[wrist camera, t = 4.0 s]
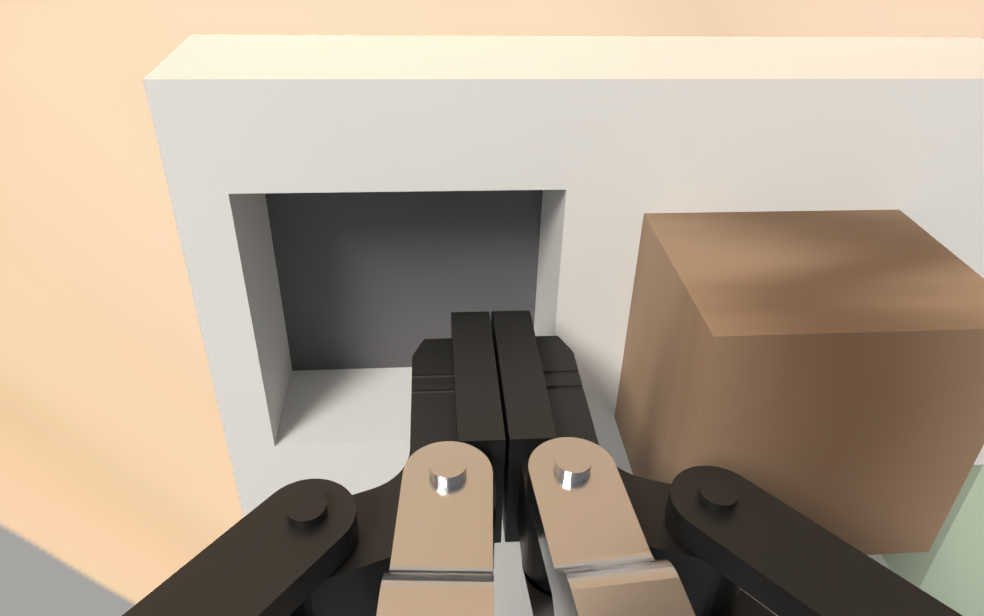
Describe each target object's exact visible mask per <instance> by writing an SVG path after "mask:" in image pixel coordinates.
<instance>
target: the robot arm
mask: <svg viewBox="0 0 984 616" xmlns="http://www.w3.org/2000/svg"><path fill="white" fill-rule="evenodd" d="M582 386H583V385H582V382H581V378H580V374H578V367H577V363H576V360H575V356H574V353H573V351H572V350H571V349H570V348H569V347H568V346H567V345H566V344H565V343H564V342H563V341H562V339H561V338H560V337H559V336H535V331H534V327H533V322H532V317H531V313H530V311H529V310H522V311H492V312H491V322H490V315H489V311H482V312H451V338H444V339H424V340H423V341H422V342H421V344H420V345H419V347H418V348H417V350H416V351H415V353H414V354H413V356H412V387H411V428H410V453H409V458H408V460H407V462H406V464H405V466H404V468H403V469H402V470H401V471H400V472H399V473H398V474H397V475H396V476H395V477H394V478H393V479H391V480H390V481H388V482H387V483H385V484H383V485H381V486H378V487H376V488H373V489H370V490H367V491H363V492H360V493H357V494H353V495H352V494H351V493H350V492H349V491H348V490H347V489H346V488H345V487H343V486H342V485H341V484H338V483H336V482H334V481H330V480H326V479H305V480H300V481H296V482H293V483H291V484H288V485H286V486H284V487H282V488H280V489H279V490H278V491H276V492H275V493H273V494H272V495H271V496H270V497H268V498H267V499H266V500H265V501H263V502H262V503H261V504H260V505H259V506H257V507H256V508H255V509H254V510H252V511H251V512H250V513H249V514H247V515H246V516H245V517H244V518H242V519H241V520H240V521H239V522H238V523H236V524H235V525H234V526H233V527H231V528H230V529H229V530H228V531H226V532H225V533H224V534H223V535H221V536H220V537H219V538H218V539H216V540H215V541H214V542H213V543H212V544H210V545H209V546H208V547H207V548H205V549H204V550H203V551H202V552H200V553H199V554H198V555H197V556H195V557H194V558H193V559H192V560H191V561H189V562H188V563H187V564H186V565H184V566H183V567H182V568H181V569H179V570H178V571H177V572H176V573H174V574H173V575H172V576H171V577H169V578H168V579H167V580H166V581H165V582H163V583H162V584H161V585H160V586H158V587H157V588H156V589H155V590H153V591H152V592H151V593H150V594H148V595H147V596H146V597H145V598H143V599H142V600H141V601H140V602H139V603H137V604H136V605H135V606H134V607H132V608H131V609H130V610H129V611H127V612H126V613H125V614H124V615H122V616H494V574H493V570H494V545H495V543H501V532H502V520H503V529H504V538H505V542H520V549H521V557H522V564H521V578H520V581H521V588H522V593H523V597H524V602H525V607H526V611H527V616H776V615H778V616H962V615H961V614H959V613H958V612H956V611H955V610H953V609H951V608H950V607H948V606H947V605H945V604H943V603H942V602H940V601H939V600H937V599H936V598H934V597H932V596H931V595H929V594H928V593H926V592H924V591H923V590H921V589H920V588H918V587H917V586H915V585H913V584H912V583H910V582H909V581H907V580H905V579H904V578H902V577H901V576H899V575H897V574H896V573H894V572H893V571H891V570H890V569H888V568H886V567H885V566H883V565H882V564H880V563H878V562H877V561H875V560H874V559H872V558H871V557H869V556H867V555H866V554H864V553H863V552H861V551H859V550H858V549H856V548H855V547H853V546H852V545H850V544H848V543H847V542H845V541H844V540H842V539H840V538H839V537H837V536H836V535H834V534H833V533H831V532H829V531H828V530H826V529H825V528H823V527H821V526H820V525H818V524H817V523H815V522H814V521H812V520H810V519H809V518H807V517H806V516H804V515H802V514H801V513H799V512H798V511H796V510H795V509H793V508H791V507H790V506H788V505H787V504H785V503H783V502H782V501H780V500H779V499H777V498H776V497H774V496H772V495H771V494H769V493H768V492H766V491H764V490H763V489H761V488H760V487H758V486H756V485H755V484H753V483H752V482H750V481H749V480H747V479H745V478H744V477H742V476H740V475H739V474H737V473H735V472H732V471H730V470H728V469H724V468H721V467H716V466H695V467H690V468H688V469H685V470H683V471H682V472H680V473H679V474H678V475H677V476H676V477H675V478H674V480H673V481H672V484H669V483H664V482H659V481H655V480H650V479H645V478H641V477H638V476H635V475H632V474H630V473H627V472H626V471H624V470H622V469H620V468H619V467H617V466H616V464H615V462H614V460H613V458H612V457H611V456H610V454H609V453H608V452H607V451H606V450H604V449H603V448H602V447H600V446H599V443H598V439H597V436H596V432H595V428H594V425H593V421H592V418H591V414H590V410H589V407H588V403H587V400H586V396H585V392H584V389H583V387H582ZM741 589H742V590H744V591H745V592H746V593H745V592H744V591H742V590H741ZM747 593H748V594H749V595H751V596H752V597H753V598H755V599H756V600H757V601H759V602H760V603H761V604H763V605H764V606H765V607H764V606H763V605H761V604H760V603H759V602H757V601H756V600H755V599H753V598H752V597H751V596H749V595H748V594H747ZM766 607H767V608H768V609H770V610H771V611H772V612H774V613H775V614H776V615H775V614H774V613H772V612H771V611H770V610H768V609H767V608H766Z"/></svg>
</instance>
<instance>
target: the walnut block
mask: <svg viewBox="0 0 984 616" xmlns="http://www.w3.org/2000/svg"><path fill="white" fill-rule="evenodd" d="M614 417H615V420H616V423H617V426H618V430H619V433H620V436H621V439H622V442H623V445H624V448H625V451H626V454H627V457H628V461H629V464H630V467H631V470H632V473H633V475H635V476H638V477H641V478H645V479H650V480H655V481H659V482H664V483H669V484H672V481H673V480H674V478H675V477H676V476H677V475H678V474H679V473H680V472H682V471H683V470H685V469H688V468H690V467H695V466H716V467H721V468H724V469H728V470H730V471H732V472H735V473H737V474H739V475H740V476H742V477H744V478H745V479H747V480H749V481H750V482H752V483H753V484H755V485H756V486H758V487H760V488H761V489H763V490H764V491H766V492H768V493H769V494H771V495H772V496H774V497H776V498H777V499H779V500H780V501H782V502H783V503H785V504H787V505H788V506H790V507H791V508H793V509H795V510H796V511H798V512H799V513H801V514H802V515H804V516H806V517H807V518H809V519H810V520H812V521H814V522H815V523H817V524H818V525H820V526H821V527H823V528H825V529H826V530H828V531H829V532H831V533H833V534H834V535H836V536H837V537H839V538H840V539H842V540H844V541H845V542H847V543H848V544H850V545H852V546H853V547H855V548H856V549H858V550H859V551H861V552H863V553H864V554H866V555H877V554H896V553H915V552H929V551H930V549H931V547H932V545H933V543H934V541H935V539H936V537H937V535H938V533H939V531H940V529H941V527H942V525H943V523H944V521H945V519H946V517H947V515H948V513H949V511H950V509H951V507H952V506H953V504H954V502H955V500H956V498H957V496H958V494H959V492H960V490H961V488H962V486H963V484H964V482H965V480H966V478H967V476H968V474H969V472H970V470H971V468H972V466H973V464H974V462H975V460H976V459H977V457H978V455H979V453H980V451H981V449H982V447H983V445H984V278H983V277H981V276H980V275H979V274H978V273H976V272H975V271H974V270H973V269H972V268H970V267H969V266H968V265H967V264H965V263H964V262H963V261H962V260H961V259H959V258H958V257H957V256H956V255H954V254H953V253H952V252H951V251H950V250H948V249H947V248H946V247H945V246H943V245H942V244H941V243H940V242H939V241H937V240H936V239H935V238H934V237H932V236H931V235H930V234H929V233H927V232H926V231H925V230H924V229H923V228H921V227H920V226H919V225H918V224H916V223H915V222H914V221H913V220H912V219H910V218H909V217H908V216H907V215H905V214H904V213H903V212H902V211H901V210H835V211H768V212H701V213H644V216H643V223H642V230H641V237H640V244H639V251H638V258H637V264H636V271H635V278H634V285H633V292H632V299H631V306H630V313H629V320H628V326H627V333H626V340H625V347H624V354H623V361H622V368H621V375H620V382H619V388H618V395H617V402H616V409H615V416H614Z"/></svg>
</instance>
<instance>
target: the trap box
mask: <svg viewBox="0 0 984 616" xmlns="http://www.w3.org/2000/svg"><path fill="white" fill-rule="evenodd" d="M143 81H144V85H145V89H146V94H147V98H148V102H149V107H150V111H151V115H152V120H153V124H154V128H155V133H156V137H157V141H158V146H159V150H160V155H161V159H162V163H163V168H164V172H165V176H166V181H167V185H168V189H169V194H170V198H171V202H172V207H173V211H174V215H175V220H176V224H177V229H178V233H179V237H180V242H181V246H182V250H183V255H184V259H185V263H186V268H187V272H188V276H189V281H190V285H191V289H192V294H193V298H194V303H195V307H196V311H197V316H198V320H199V324H200V329H201V333H202V337H203V342H204V346H205V350H206V355H207V359H208V363H209V368H210V372H211V377H212V381H213V385H214V390H215V394H216V398H217V403H218V407H219V411H220V416H221V420H222V424H223V429H224V433H225V437H226V442H227V446H228V451H229V455H230V459H231V464H232V468H233V472H234V477H235V481H236V485H237V490H238V494H239V498H240V503H241V507H242V511H243V516H244V517H245V516H246V515H247V514H249V513H250V512H251V511H252V510H254V509H255V508H256V507H257V506H259V505H260V504H261V503H262V502H263V501H265V500H266V499H267V498H268V497H270V496H271V495H272V494H273V493H275V492H276V491H278V490H279V489H280V488H282V487H284V486H286V485H288V484H291V483H293V482H296V481H300V480H305V479H326V480H330V481H334V482H336V483H338V484H341V485H342V486H343V487H345V488H346V489H347V490H348V491H349V492H350V493H351V494H352V495H353V494H357V493H360V492H363V491H367V490H370V489H373V488H376V487H378V486H381V485H383V484H385V483H387V482H388V481H390V480H391V479H393V478H394V477H395V476H396V475H397V474H398V473H399V472H400V471H401V470H402V469H403V468H404V466H405V464H406V462H407V460H408V458H409V453H410V428H411V387H412V356H413V354H414V353H415V351H416V350H417V348H418V347H419V345H420V344H421V342H422V341H423V340H424V339H444V338H451V312H482V311H489V315H490V322H491V312H492V311H522V310H529V311H530V313H531V317H532V322H533V327H534V331H535V336H559V337H560V338H561V339H562V341H563V342H564V343H565V344H566V345H567V346H568V347H569V348H570V349H571V350H572V351H573V353H574V356H575V360H576V363H577V367H578V374H580V378H581V382H582V385H583V386H582V387H583V389H584V392H585V396H586V400H587V403H588V407H589V410H590V414H591V418H592V421H593V425H594V428H595V432H596V436H597V439H598V443H599V446H600V447H602V448H603V449H604V450H606V451H607V452H608V453H609V454H610V456H611V457H612V458H613V460H614V462H615V464H616V466H617V467H619V468H620V469H622V470H624V471H626V472H627V473H630V474H632V475H633V473H632V470H631V467H630V464H629V461H628V457H627V454H626V451H625V448H624V445H623V442H622V439H621V436H620V433H619V430H618V426H617V423H616V420H615V417H614V416H615V409H616V402H617V395H618V388H619V382H620V375H621V368H622V361H623V354H624V347H625V340H626V333H627V326H628V320H629V313H630V306H631V299H632V292H633V285H634V278H635V271H636V264H637V258H638V251H639V244H640V237H641V230H642V223H643V216H644V213H701V212H768V211H835V210H901V211H902V212H903V213H904V214H905V215H907V216H908V217H909V218H910V219H912V220H913V221H914V222H915V223H916V224H918V225H919V226H920V227H921V228H923V229H924V230H925V231H926V232H927V233H929V234H930V235H931V236H932V237H934V238H935V239H936V240H937V241H939V242H940V243H941V244H942V245H943V246H945V247H946V248H947V249H948V250H950V251H951V252H952V253H953V254H954V255H956V256H957V257H958V258H959V259H961V260H962V261H963V262H964V263H965V264H967V265H968V266H969V267H970V268H972V269H973V270H974V271H975V272H976V273H978V274H979V275H980V276H981V277H983V278H984V37H755V36H484V35H214V34H191V35H190V36H189V37H188V38H187V39H186V40H185V41H184V42H183V43H182V44H180V45H179V46H178V47H177V48H176V49H175V50H174V51H173V52H172V53H171V54H170V55H169V56H168V57H167V58H166V59H164V60H163V61H162V62H161V63H160V64H159V65H158V66H157V67H156V68H155V69H154V70H153V71H152V72H151V73H149V74H148V75H147V76H146V77H145V78H144V79H143ZM867 556H869V557H871V558H872V559H874V560H875V561H877V562H878V563H880V564H882V565H883V566H885V567H886V568H888V569H890V570H891V571H893V572H894V573H896V574H897V575H899V576H901V577H902V578H904V579H905V580H907V581H909V582H910V583H912V584H913V585H915V586H917V587H918V588H920V589H921V590H923V591H924V592H926V593H928V594H929V595H931V596H932V597H934V598H936V599H937V600H939V601H940V602H942V603H943V604H945V605H947V606H948V607H950V608H951V609H953V610H955V611H956V612H958V613H959V614H961V615H962V616H984V445H983V447H982V449H981V451H980V453H979V455H978V457H977V459H976V460H975V462H974V464H973V466H972V468H971V470H970V472H969V474H968V476H967V478H966V480H965V482H964V484H963V486H962V488H961V490H960V492H959V494H958V496H957V498H956V500H955V502H954V504H953V506H952V507H951V509H950V511H949V513H948V515H947V517H946V519H945V521H944V523H943V525H942V527H941V529H940V531H939V533H938V535H937V537H936V539H935V541H934V543H933V545H932V547H931V549H930V551H929V552H915V553H896V554H877V555H867ZM521 564H522V557H521V549H520V542H505V538H504V529H503V520H502V532H501V543H495V545H494V570H493V574H494V616H527V611H526V607H525V602H524V597H523V593H522V588H521V581H520V578H521ZM741 590H742V589H741ZM742 591H744V590H742ZM744 592H745V591H744ZM745 593H746V592H745ZM747 594H748V593H747ZM748 595H749V594H748ZM749 596H751V595H749ZM751 597H752V596H751ZM752 598H753V597H752ZM753 599H755V598H753ZM755 600H756V599H755ZM756 601H757V600H756ZM757 602H759V601H757ZM759 603H760V602H759ZM760 604H761V603H760ZM761 605H763V604H761ZM763 606H764V605H763ZM764 607H765V606H764ZM766 608H767V607H766ZM767 609H768V608H767ZM768 610H770V609H768ZM770 611H771V610H770ZM771 612H772V611H771ZM772 613H774V612H772ZM774 614H775V613H774ZM775 615H776V614H775ZM776 616H778V615H776Z"/></svg>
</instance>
